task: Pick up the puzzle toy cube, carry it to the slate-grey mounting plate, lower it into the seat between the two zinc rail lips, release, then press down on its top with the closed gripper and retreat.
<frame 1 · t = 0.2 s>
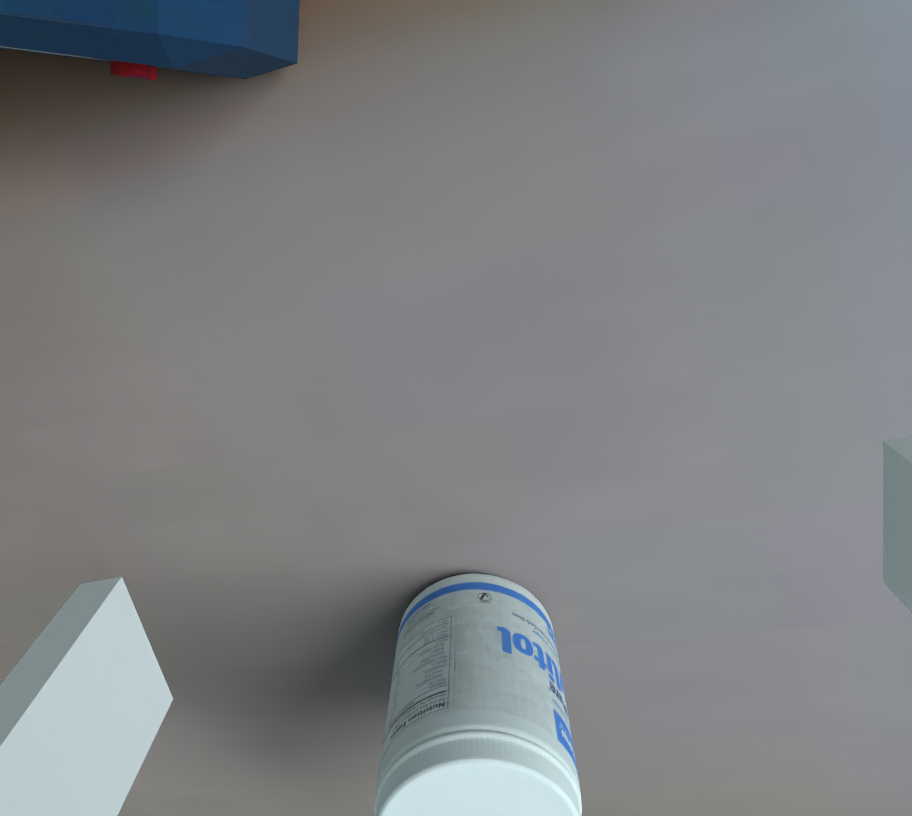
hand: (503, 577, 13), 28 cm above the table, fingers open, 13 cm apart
supplement tub: (473, 629, 48), on the table
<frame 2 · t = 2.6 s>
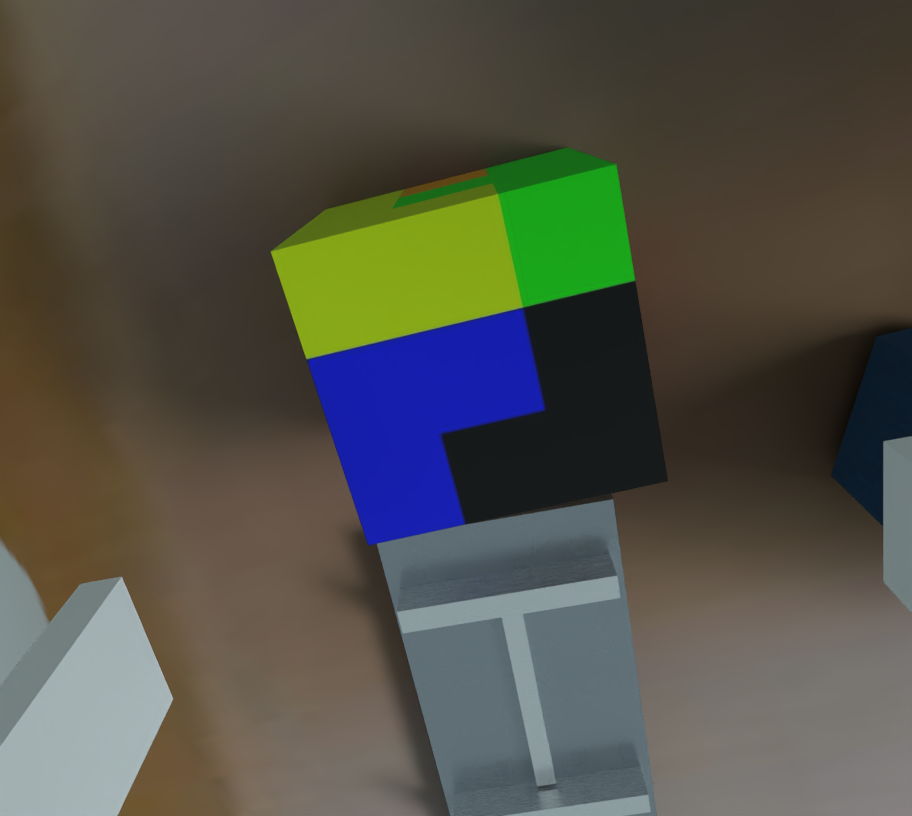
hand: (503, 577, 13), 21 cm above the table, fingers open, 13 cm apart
rail plate: (526, 675, 40), on the table
puzzle toy: (473, 296, 33), on the table
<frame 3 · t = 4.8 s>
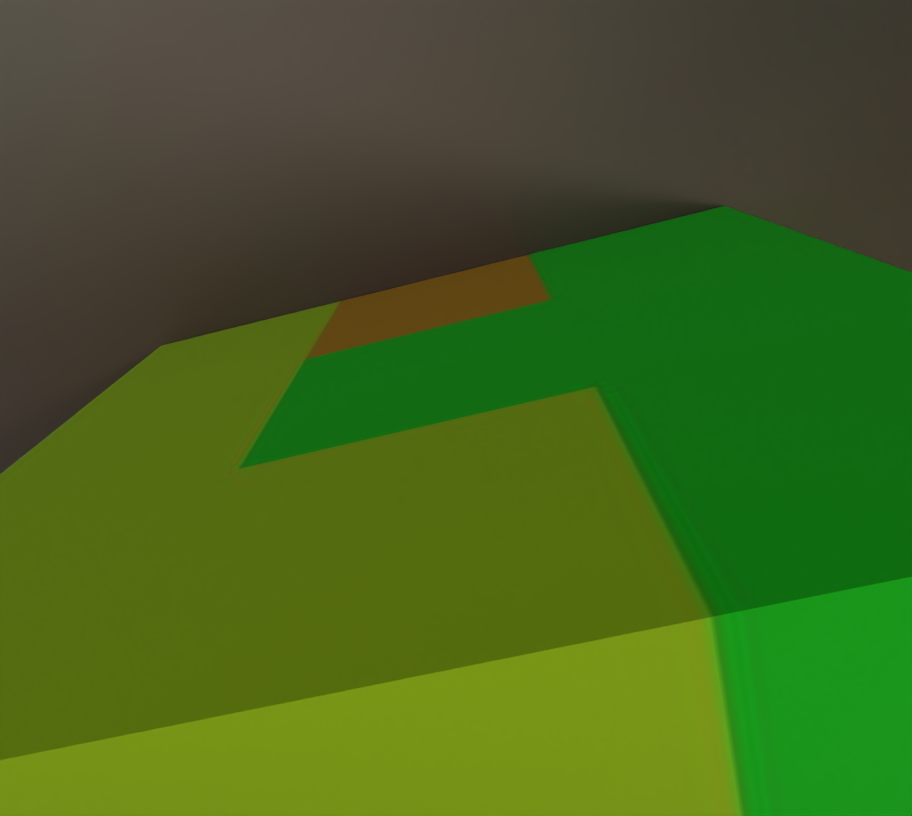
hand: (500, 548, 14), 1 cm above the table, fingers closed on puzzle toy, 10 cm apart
puzzle toy: (497, 520, 15), on the table, touching gripper
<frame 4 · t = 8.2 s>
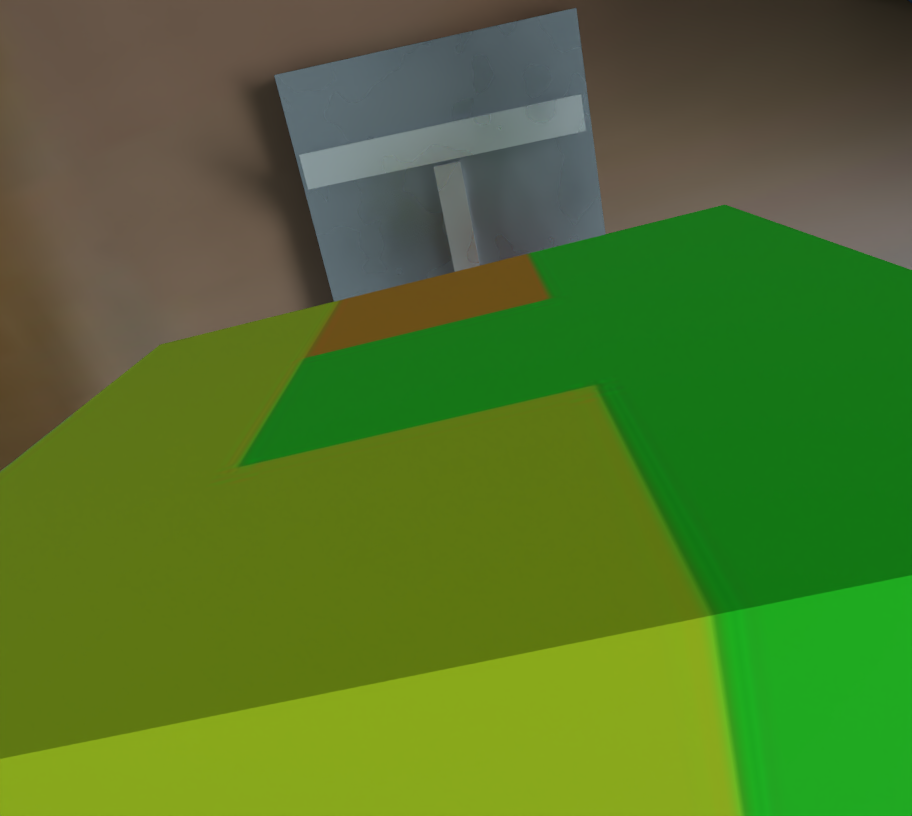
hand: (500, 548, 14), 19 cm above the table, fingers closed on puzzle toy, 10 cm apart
rail plate: (475, 304, 32), on the table
puzzle toy: (497, 520, 15), point 18 cm above the table, touching gripper
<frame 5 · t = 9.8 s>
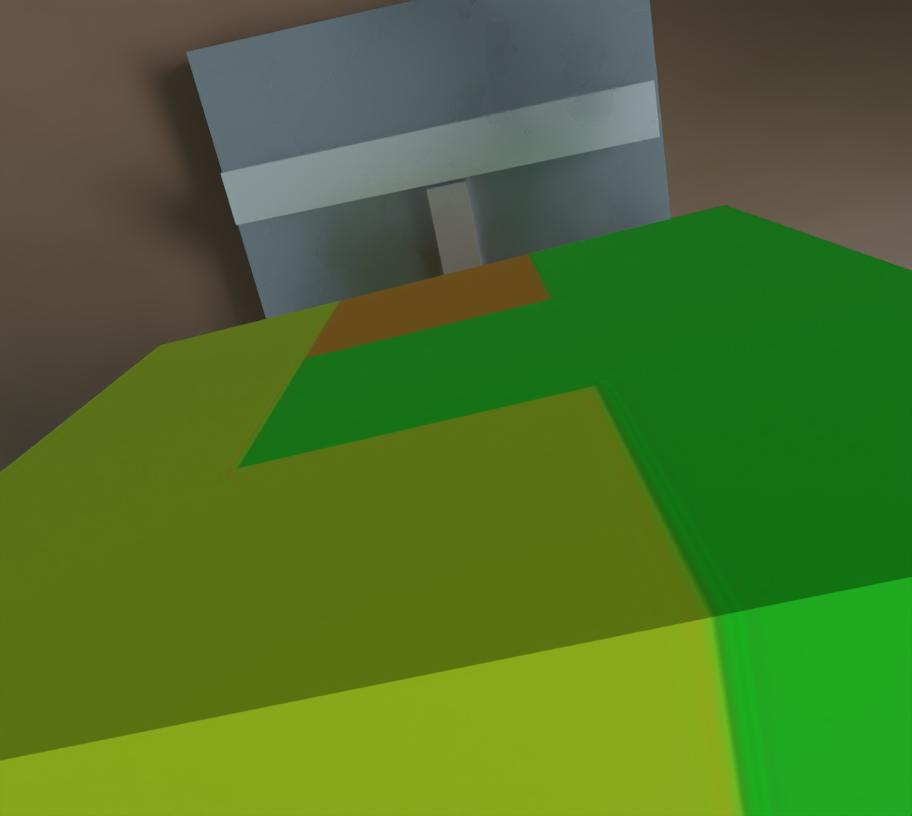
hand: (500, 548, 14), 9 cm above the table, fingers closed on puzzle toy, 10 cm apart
rail plate: (486, 379, 23), on the table
puzzle toy: (497, 520, 15), point 8 cm above the table, touching gripper
when the fingers open (3 cm above the table, at t = 11.5 s): puzzle toy stays where it is, resting on rail plate.
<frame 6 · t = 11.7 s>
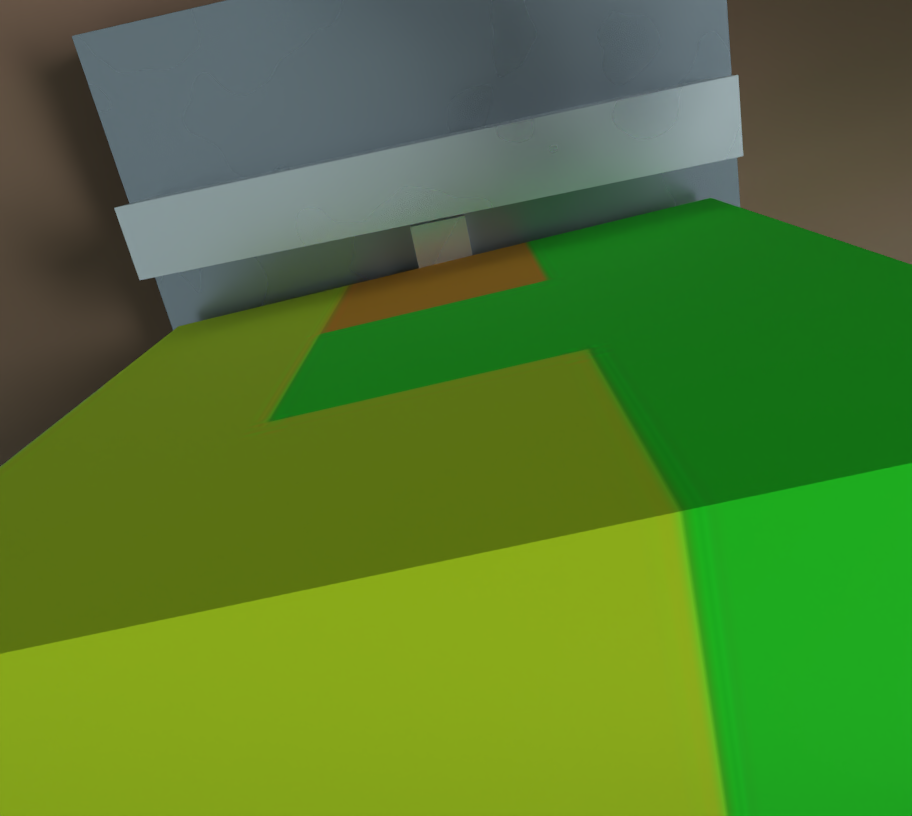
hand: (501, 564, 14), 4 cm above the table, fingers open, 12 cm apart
rail plate: (491, 467, 17), on the table
puzzle toy: (495, 495, 16), point 2 cm above the table, touching rail plate
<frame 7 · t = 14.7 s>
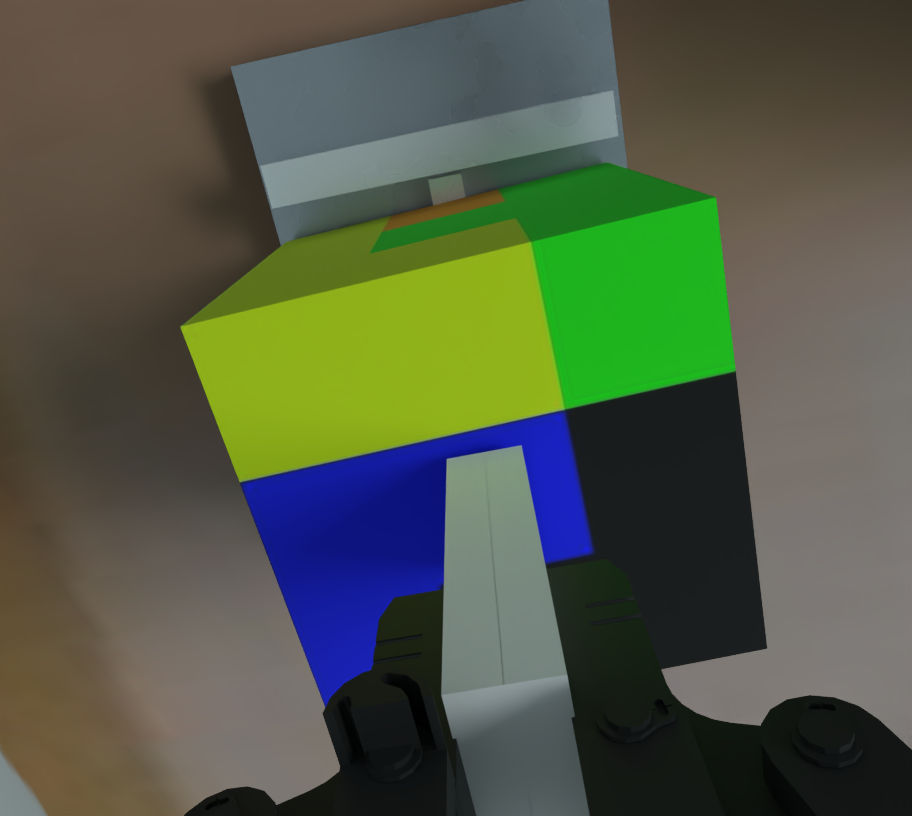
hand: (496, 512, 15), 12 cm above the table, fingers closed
rail plate: (478, 343, 27), on the table
puzzle toy: (480, 354, 25), point 2 cm above the table, touching rail plate
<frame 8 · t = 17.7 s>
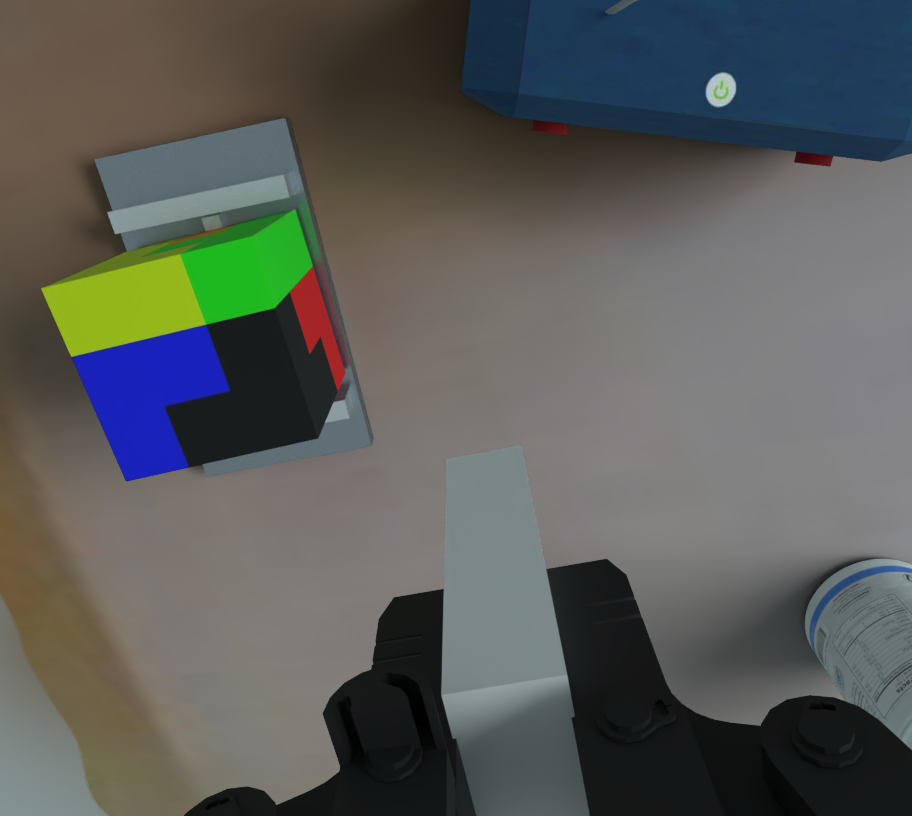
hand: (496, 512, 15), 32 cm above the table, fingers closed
rail plate: (247, 307, 47), on the table
radio: (655, 58, 42), on the table
puzzle toy: (241, 312, 46), point 2 cm above the table, touching rail plate
supplement tub: (864, 607, 55), on the table
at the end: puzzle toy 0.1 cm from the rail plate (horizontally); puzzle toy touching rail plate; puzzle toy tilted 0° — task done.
